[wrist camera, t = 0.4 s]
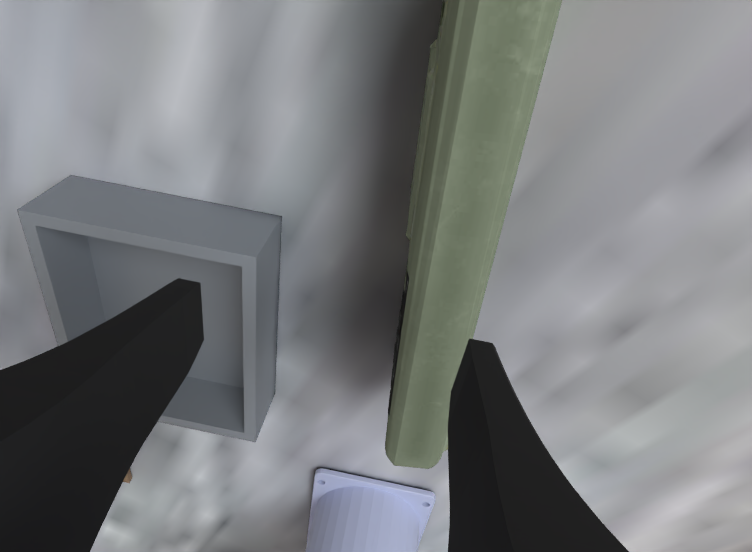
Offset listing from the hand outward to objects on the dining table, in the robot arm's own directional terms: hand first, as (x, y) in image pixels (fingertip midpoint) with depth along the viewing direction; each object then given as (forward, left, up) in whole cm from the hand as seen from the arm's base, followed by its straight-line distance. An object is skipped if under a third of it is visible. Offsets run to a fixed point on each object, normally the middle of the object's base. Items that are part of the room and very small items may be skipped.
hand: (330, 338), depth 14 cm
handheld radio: (+3, -3, -11) cm, 11 cm away
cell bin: (-9, +9, -10) cm, 16 cm away
